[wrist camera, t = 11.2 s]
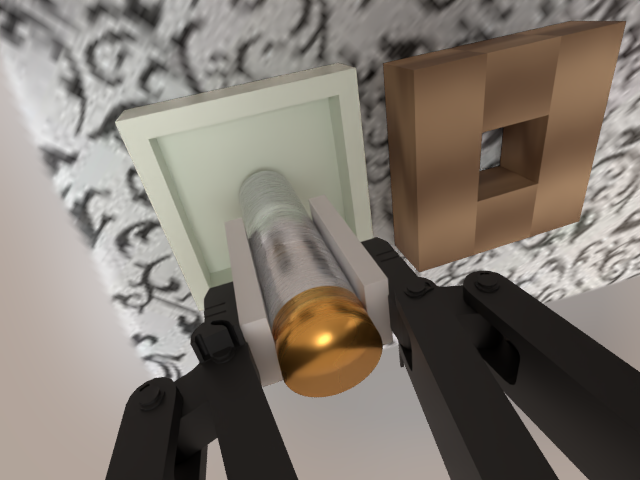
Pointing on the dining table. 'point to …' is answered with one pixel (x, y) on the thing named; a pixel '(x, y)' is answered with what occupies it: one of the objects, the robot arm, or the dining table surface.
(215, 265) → the tray
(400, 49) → the dining table surface
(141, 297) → the dining table surface
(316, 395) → the clear capped vial
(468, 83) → the block
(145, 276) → the dining table surface
